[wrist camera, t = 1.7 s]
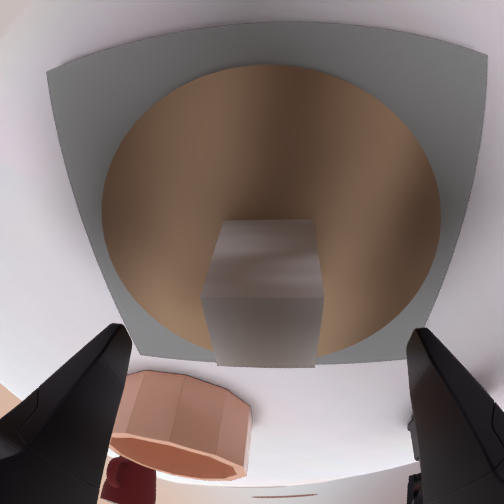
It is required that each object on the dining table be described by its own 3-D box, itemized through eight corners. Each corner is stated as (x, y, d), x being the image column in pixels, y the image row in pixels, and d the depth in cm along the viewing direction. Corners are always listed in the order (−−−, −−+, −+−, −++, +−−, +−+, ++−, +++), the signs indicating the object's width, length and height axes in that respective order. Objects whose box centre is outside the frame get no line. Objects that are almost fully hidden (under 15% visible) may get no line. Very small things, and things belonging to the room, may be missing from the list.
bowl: (245, 379, 21) (237, 450, 16) (254, 436, 28) (250, 484, 23) (99, 362, 22) (75, 418, 17) (145, 423, 29) (133, 466, 24)
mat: (474, 53, 8) (487, 55, 7) (405, 346, 18) (408, 358, 17) (60, 68, 10) (46, 71, 9) (144, 343, 19) (140, 355, 18)
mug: (95, 432, 36) (77, 488, 28) (136, 440, 34) (119, 503, 26) (134, 458, 41) (121, 506, 33) (173, 464, 39) (162, 517, 31)
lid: (455, 82, 8) (543, 111, 4) (393, 345, 16) (410, 418, 12) (78, 96, 9) (-11, 132, 6) (154, 343, 17) (131, 412, 14)
